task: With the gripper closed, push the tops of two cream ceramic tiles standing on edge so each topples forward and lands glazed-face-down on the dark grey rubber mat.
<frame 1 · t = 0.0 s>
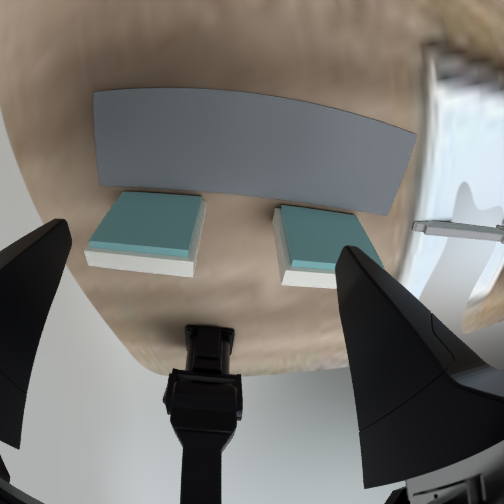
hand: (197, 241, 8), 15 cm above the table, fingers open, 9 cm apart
caliper: (472, 220, 26), on the table
glazed tile 1: (316, 217, 25), on the table
glazed tile 2: (162, 201, 24), on the table
rubber mat: (255, 146, 21), on the table
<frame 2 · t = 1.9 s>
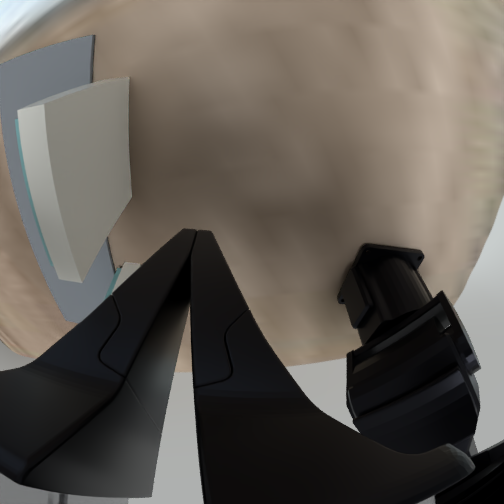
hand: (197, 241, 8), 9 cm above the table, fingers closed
glazed tile 1: (114, 140, 14), on the table
glazed tile 2: (136, 295, 23), on the table
rubber mat: (60, 222, 18), on the table
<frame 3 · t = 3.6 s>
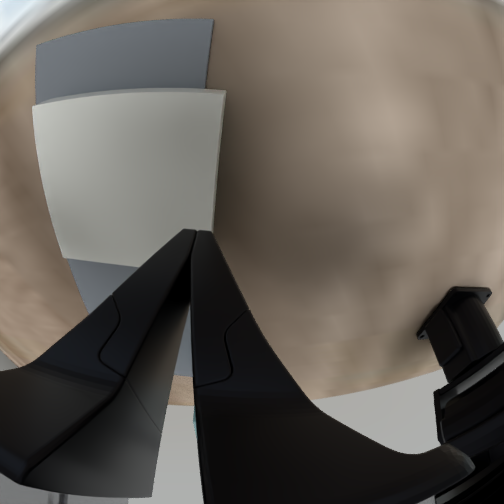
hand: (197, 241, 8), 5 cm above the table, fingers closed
glazed tile 1: (215, 187, 11), point 1 cm above the table, tilted 90°, touching rubber mat
rubber mat: (127, 268, 16), on the table
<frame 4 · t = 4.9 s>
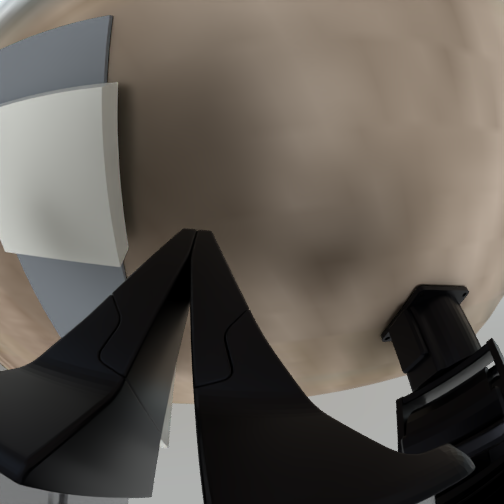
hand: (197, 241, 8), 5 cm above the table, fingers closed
glazed tile 1: (116, 178, 10), point 1 cm above the table, tilted 90°, touching rubber mat
glazed tile 2: (160, 340, 20), on the table
rubber mat: (65, 262, 15), on the table
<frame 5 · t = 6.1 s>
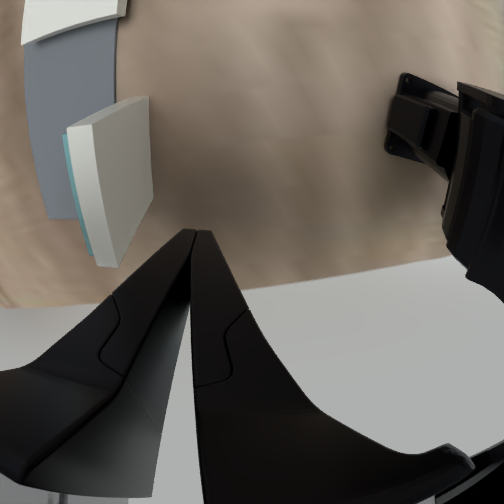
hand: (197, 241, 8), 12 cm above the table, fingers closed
glazed tile 2: (137, 149, 18), on the table
rubber mat: (65, 63, 12), on the table
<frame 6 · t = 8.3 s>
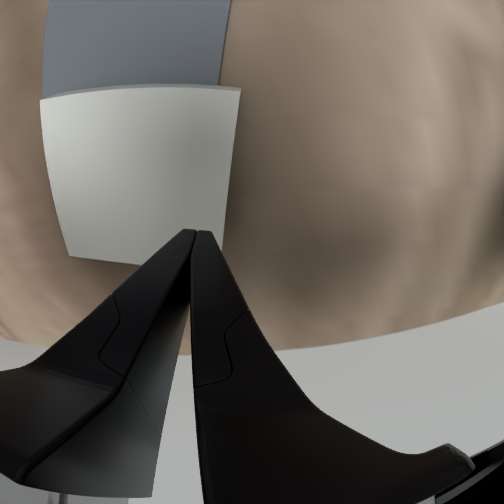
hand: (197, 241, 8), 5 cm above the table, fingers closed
glazed tile 2: (228, 185, 11), point 1 cm above the table, tilted 90°, touching rubber mat
rubber mat: (126, 10, 7), on the table
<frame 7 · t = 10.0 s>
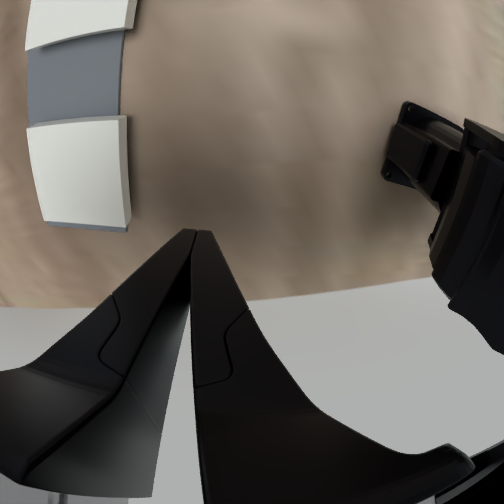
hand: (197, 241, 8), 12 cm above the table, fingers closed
glazed tile 2: (125, 172, 17), point 1 cm above the table, tilted 90°, touching rubber mat
rubber mat: (69, 71, 13), on the table
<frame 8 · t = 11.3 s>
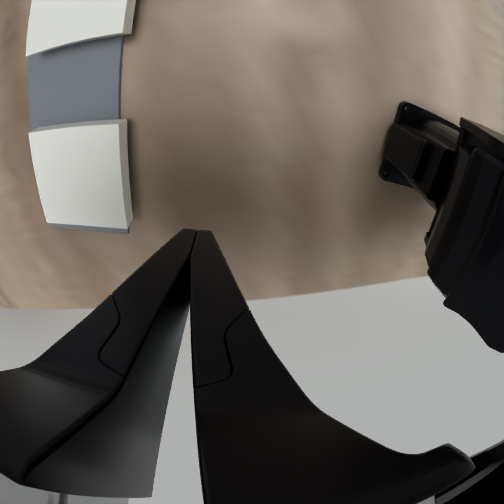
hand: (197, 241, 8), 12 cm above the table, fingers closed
glazed tile 2: (126, 174, 18), point 1 cm above the table, tilted 90°, touching rubber mat
rubber mat: (70, 76, 13), on the table
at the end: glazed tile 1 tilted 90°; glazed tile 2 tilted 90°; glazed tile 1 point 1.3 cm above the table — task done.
